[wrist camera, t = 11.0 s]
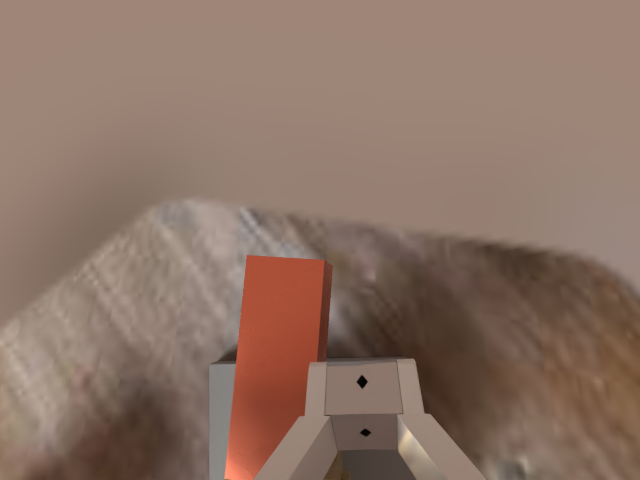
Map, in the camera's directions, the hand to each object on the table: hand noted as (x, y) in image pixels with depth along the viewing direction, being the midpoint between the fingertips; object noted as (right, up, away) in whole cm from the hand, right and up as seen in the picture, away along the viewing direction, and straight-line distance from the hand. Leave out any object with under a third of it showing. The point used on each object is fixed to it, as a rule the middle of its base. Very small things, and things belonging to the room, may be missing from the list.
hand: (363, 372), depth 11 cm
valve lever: (-3, -5, +5) cm, 8 cm away
